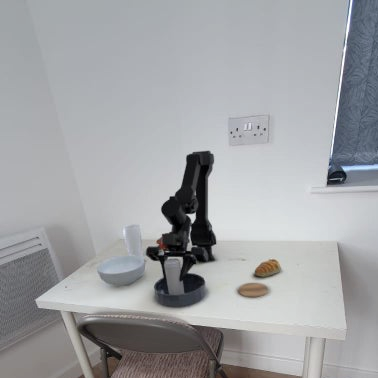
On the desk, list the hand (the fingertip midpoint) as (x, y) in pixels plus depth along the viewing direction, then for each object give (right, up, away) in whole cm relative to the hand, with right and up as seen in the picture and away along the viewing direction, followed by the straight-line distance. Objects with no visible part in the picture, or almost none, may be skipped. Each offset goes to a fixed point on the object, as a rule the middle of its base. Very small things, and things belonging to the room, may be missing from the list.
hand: (172, 280), depth 98 cm
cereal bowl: (-19, +1, +22) cm, 29 cm away
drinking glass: (-16, +10, +37) cm, 41 cm away
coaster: (+25, -3, +5) cm, 26 cm away
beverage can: (+1, -5, +4) cm, 7 cm away
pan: (+2, -4, +7) cm, 9 cm away
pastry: (+32, +4, +15) cm, 36 cm away
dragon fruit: (-4, +16, +45) cm, 48 cm away
